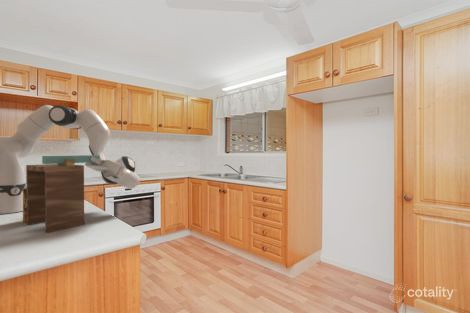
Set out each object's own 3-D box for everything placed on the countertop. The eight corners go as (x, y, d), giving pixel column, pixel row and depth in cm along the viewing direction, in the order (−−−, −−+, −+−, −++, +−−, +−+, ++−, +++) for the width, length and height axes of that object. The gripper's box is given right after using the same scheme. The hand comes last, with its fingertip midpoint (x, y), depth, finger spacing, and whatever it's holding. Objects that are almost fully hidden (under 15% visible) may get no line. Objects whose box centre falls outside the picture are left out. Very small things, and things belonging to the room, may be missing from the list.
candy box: (22, 222, 111) (22, 188, 111) (24, 220, 115) (23, 187, 114) (47, 219, 116) (47, 187, 115) (48, 217, 119) (47, 186, 119)
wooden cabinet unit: (26, 224, 108) (26, 158, 108) (62, 217, 120) (62, 157, 119) (47, 232, 98) (46, 159, 97) (84, 224, 110) (83, 158, 109)
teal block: (42, 163, 101) (42, 155, 101) (96, 161, 120) (96, 155, 120) (45, 164, 100) (45, 156, 100) (99, 162, 118) (99, 155, 118)
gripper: (103, 164, 132) (79, 151, 122) (127, 166, 121) (103, 152, 111) (97, 175, 130) (73, 163, 119) (121, 177, 119) (96, 164, 109)
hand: (87, 157), depth 115 cm, fingers closed on teal block, 3 cm apart
